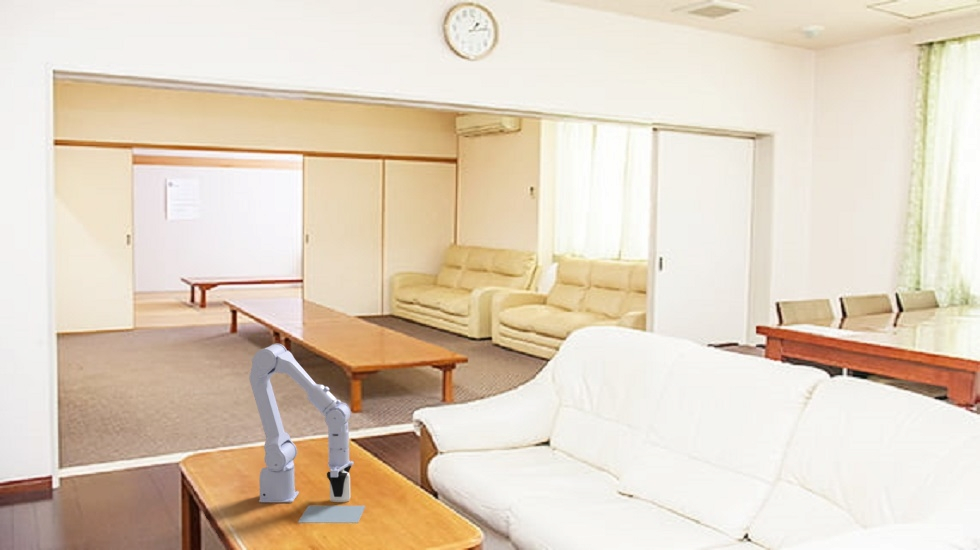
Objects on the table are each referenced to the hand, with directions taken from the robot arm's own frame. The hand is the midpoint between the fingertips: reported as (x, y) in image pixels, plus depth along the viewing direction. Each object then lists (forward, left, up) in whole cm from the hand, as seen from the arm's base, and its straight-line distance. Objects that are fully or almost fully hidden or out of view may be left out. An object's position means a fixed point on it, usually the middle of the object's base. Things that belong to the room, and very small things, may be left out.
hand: (339, 493), depth 231 cm
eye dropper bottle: (0, 0, -2) cm, 2 cm away
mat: (0, -10, -2) cm, 10 cm away
